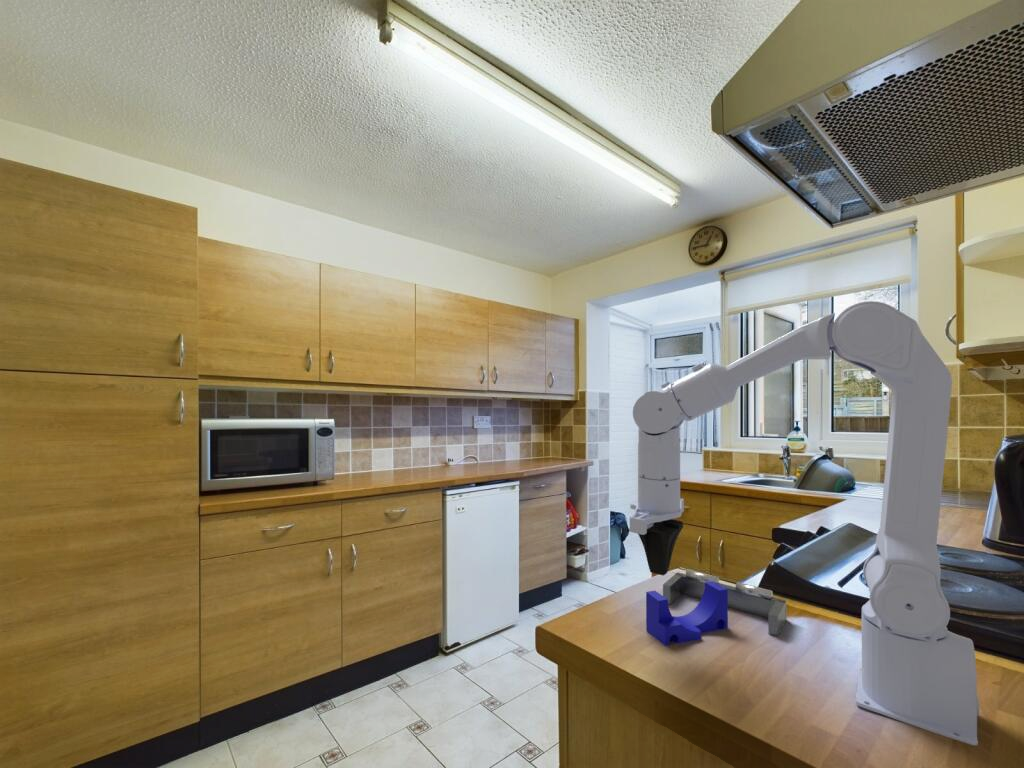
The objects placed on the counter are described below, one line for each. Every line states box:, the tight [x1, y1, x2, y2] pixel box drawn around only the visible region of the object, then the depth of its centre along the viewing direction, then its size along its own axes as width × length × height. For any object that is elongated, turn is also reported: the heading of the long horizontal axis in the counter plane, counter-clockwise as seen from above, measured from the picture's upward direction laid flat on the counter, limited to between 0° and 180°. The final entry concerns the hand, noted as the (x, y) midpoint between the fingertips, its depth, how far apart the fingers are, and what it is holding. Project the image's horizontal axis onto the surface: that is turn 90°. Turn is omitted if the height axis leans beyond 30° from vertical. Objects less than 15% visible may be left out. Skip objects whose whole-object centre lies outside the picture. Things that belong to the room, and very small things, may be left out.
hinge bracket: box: [662, 569, 787, 637], centre depth 74 cm, size 17×7×4 cm, turn 50°
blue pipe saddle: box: [645, 581, 729, 647], centre depth 68 cm, size 12×4×6 cm, turn 108°
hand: (658, 572), depth 66 cm, fingers closed
